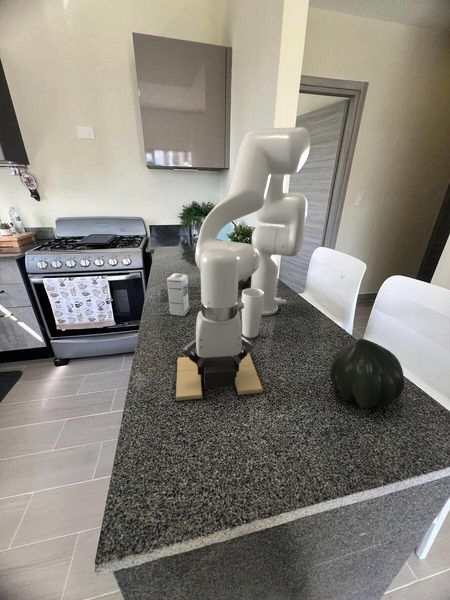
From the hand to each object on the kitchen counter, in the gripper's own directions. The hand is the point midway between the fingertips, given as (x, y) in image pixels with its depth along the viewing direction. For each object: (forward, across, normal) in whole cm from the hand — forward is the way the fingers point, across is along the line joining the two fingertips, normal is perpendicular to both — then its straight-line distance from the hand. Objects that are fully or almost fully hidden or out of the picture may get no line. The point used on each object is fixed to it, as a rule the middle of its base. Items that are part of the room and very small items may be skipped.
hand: (218, 374), depth 60 cm
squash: (+3, -33, +7) cm, 34 cm away
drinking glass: (+3, -13, -21) cm, 25 cm away
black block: (+1, 0, 0) cm, 1 cm away
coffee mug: (+3, -21, -62) cm, 65 cm away
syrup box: (+3, +10, -39) cm, 40 cm away
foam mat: (+3, 0, -3) cm, 4 cm away
